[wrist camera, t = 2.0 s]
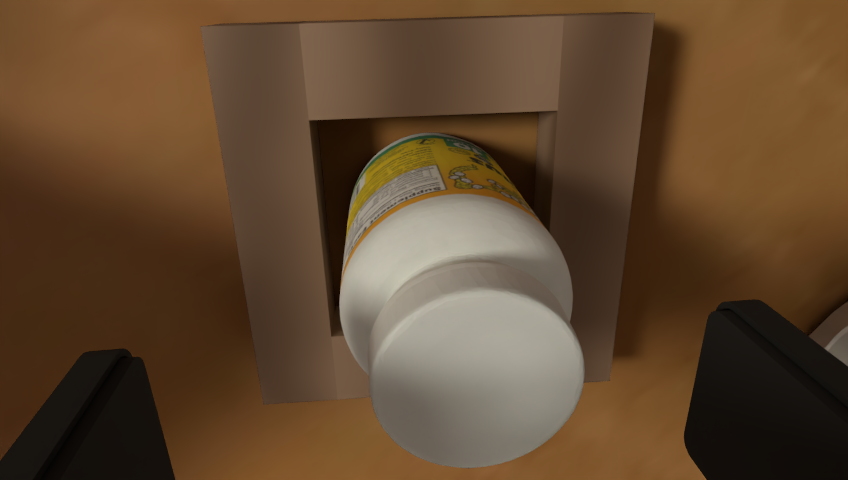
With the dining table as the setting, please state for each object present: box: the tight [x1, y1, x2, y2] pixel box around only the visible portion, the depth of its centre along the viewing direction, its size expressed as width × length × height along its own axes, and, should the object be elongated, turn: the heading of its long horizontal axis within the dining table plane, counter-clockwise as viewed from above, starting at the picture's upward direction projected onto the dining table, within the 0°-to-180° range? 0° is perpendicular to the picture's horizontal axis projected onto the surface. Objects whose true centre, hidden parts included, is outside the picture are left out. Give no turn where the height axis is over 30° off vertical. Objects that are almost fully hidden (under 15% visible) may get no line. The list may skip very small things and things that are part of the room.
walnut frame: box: [201, 12, 655, 405], centre depth 18 cm, size 12×12×2 cm
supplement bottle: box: [339, 133, 585, 468], centre depth 15 cm, size 5×5×10 cm
